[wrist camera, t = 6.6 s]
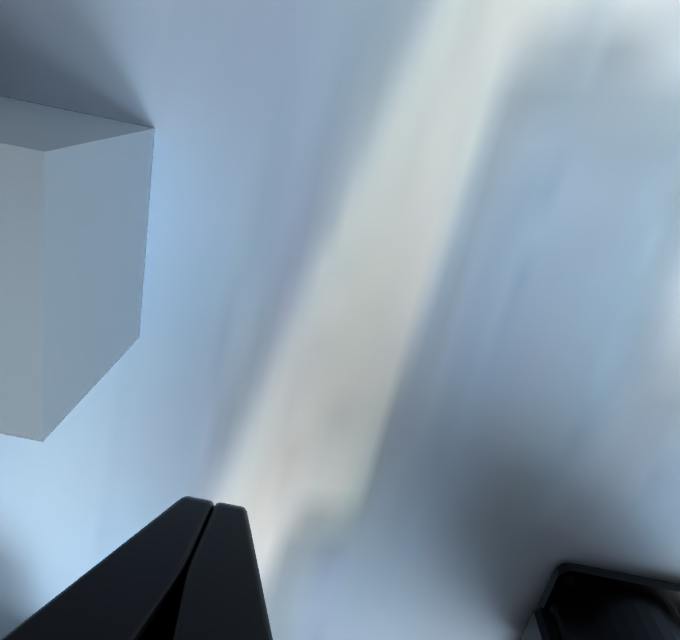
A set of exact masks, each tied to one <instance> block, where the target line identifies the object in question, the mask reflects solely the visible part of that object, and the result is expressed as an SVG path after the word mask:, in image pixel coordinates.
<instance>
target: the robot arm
mask: <svg viewBox="0 0 680 640" xmlns="http://www.w3.org/2000/svg"><path fill="white" fill-rule="evenodd" d="M567 576H571V577H569V578H565V577H567ZM2 640H273V638H272V633H271V628H270V623H269V618H268V614H267V609H266V604H265V599H264V594H263V589H262V584H261V579H260V574H259V569H258V564H257V559H256V554H255V549H254V544H253V539H252V534H251V529H250V524H249V520H248V515H247V511H246V509H245V508H244V507H241V506H236V505H231V504H226V503H217V504H216V505H215V506H214V504H213V502H212V501H210V500H205V499H200V498H195V497H190V496H186V497H183V498H181V499H180V500H178V501H177V502H176V503H175V504H173V505H172V506H171V507H169V508H168V509H167V510H166V511H164V512H163V513H162V514H161V515H159V516H158V517H157V518H155V519H154V520H153V521H152V522H150V523H149V524H148V525H147V526H145V527H144V528H143V529H141V530H140V531H139V532H138V533H136V534H135V535H134V536H133V537H131V538H130V539H129V540H127V541H126V542H125V543H124V544H122V545H121V546H120V547H119V548H117V549H116V550H115V551H113V552H112V553H111V554H110V555H108V556H107V557H106V558H105V559H103V560H102V561H101V562H99V563H98V564H97V565H96V566H94V567H93V568H92V569H91V570H89V571H88V572H87V573H86V574H84V575H83V576H82V577H80V578H79V579H78V580H77V581H75V582H74V583H73V584H72V585H70V586H69V587H68V588H66V589H65V590H64V591H63V592H61V593H60V594H59V595H58V596H56V597H55V598H54V599H52V600H51V601H50V602H49V603H47V604H46V605H45V606H44V607H42V608H41V609H40V610H38V611H37V612H36V613H35V614H33V615H32V616H31V617H30V618H28V619H27V620H26V621H24V622H23V623H22V624H21V625H19V626H18V627H17V628H16V629H14V630H13V631H12V632H10V633H9V634H8V635H7V636H5V637H4V638H3V639H2ZM520 640H680V585H679V584H674V583H669V582H663V581H658V580H653V579H648V578H643V577H638V576H633V575H628V574H623V573H618V572H613V571H608V570H603V569H598V568H593V567H588V566H583V565H578V564H573V563H564V564H560V565H559V566H557V567H556V568H555V570H554V572H553V574H552V576H551V578H550V581H549V583H548V585H547V587H546V590H545V592H544V594H543V597H542V599H541V601H540V603H539V606H538V607H537V608H536V609H535V610H534V611H533V612H532V614H531V616H530V618H529V621H528V623H527V625H526V628H525V630H524V632H523V634H522V637H521V639H520Z"/></svg>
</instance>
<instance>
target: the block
mask: <svg viewBox="0 0 680 640" xmlns="http://www.w3.org/2000/svg"><path fill="white" fill-rule="evenodd" d="M154 132H155V128H150V127H146V126H141V125H136V124H131V123H127V122H122V121H117V120H112V119H108V118H103V117H98V116H93V115H89V114H84V113H79V112H74V111H69V110H65V109H60V108H55V107H50V106H46V105H41V104H36V103H31V102H27V101H22V100H17V99H12V98H8V97H3V96H0V433H1V434H6V435H11V436H16V437H21V438H26V439H31V440H37V441H42V442H43V441H44V440H45V439H46V438H47V436H48V435H49V434H50V433H51V432H52V431H53V430H54V429H55V428H56V427H57V426H58V425H59V424H60V422H61V421H62V420H63V419H64V418H65V417H66V416H67V415H68V414H69V413H70V412H71V411H72V409H73V408H74V407H75V406H76V405H77V404H78V403H79V402H80V401H81V400H82V399H83V398H84V396H85V395H86V394H87V393H88V392H89V391H90V390H91V389H92V388H93V387H94V386H95V385H96V383H97V382H98V381H99V380H100V379H101V378H102V377H103V376H104V375H105V374H106V373H107V372H108V370H109V369H110V368H111V367H112V366H113V365H114V364H115V363H116V362H117V361H118V360H119V359H120V358H121V356H122V355H123V354H124V353H125V352H126V351H127V350H128V349H129V348H130V347H131V346H132V345H133V343H134V342H135V341H136V340H137V339H138V338H139V334H140V321H141V307H142V294H143V280H144V267H145V253H146V240H147V226H148V213H149V199H150V186H151V172H152V159H153V145H154Z"/></svg>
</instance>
